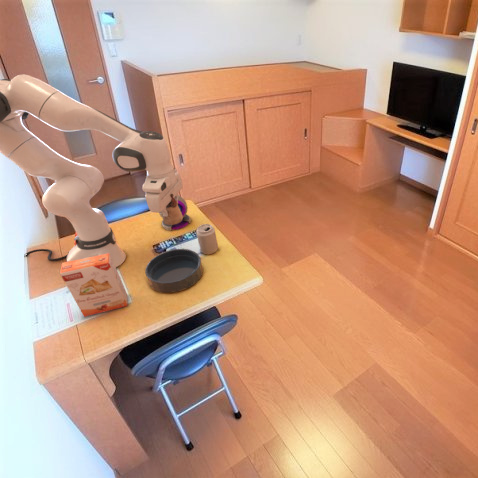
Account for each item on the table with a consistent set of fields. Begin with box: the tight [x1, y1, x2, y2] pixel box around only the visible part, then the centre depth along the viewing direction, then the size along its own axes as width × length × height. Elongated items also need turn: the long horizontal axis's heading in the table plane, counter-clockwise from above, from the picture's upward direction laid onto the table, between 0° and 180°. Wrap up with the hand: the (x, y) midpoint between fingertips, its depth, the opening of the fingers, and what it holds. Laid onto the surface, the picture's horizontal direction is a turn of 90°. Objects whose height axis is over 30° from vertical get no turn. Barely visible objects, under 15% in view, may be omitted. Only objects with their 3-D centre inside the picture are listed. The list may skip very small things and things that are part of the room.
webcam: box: [158, 194, 192, 231], centre depth 166 cm, size 13×13×15 cm
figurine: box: [162, 194, 183, 225], centre depth 134 cm, size 7×7×12 cm
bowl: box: [144, 248, 204, 294], centre depth 138 cm, size 20×20×6 cm
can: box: [195, 223, 219, 255], centre depth 150 cm, size 8×8×12 cm
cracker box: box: [59, 253, 129, 318], centre depth 120 cm, size 14×6×21 cm, turn 114°
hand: (170, 210), depth 135 cm, fingers closed on figurine, 6 cm apart
